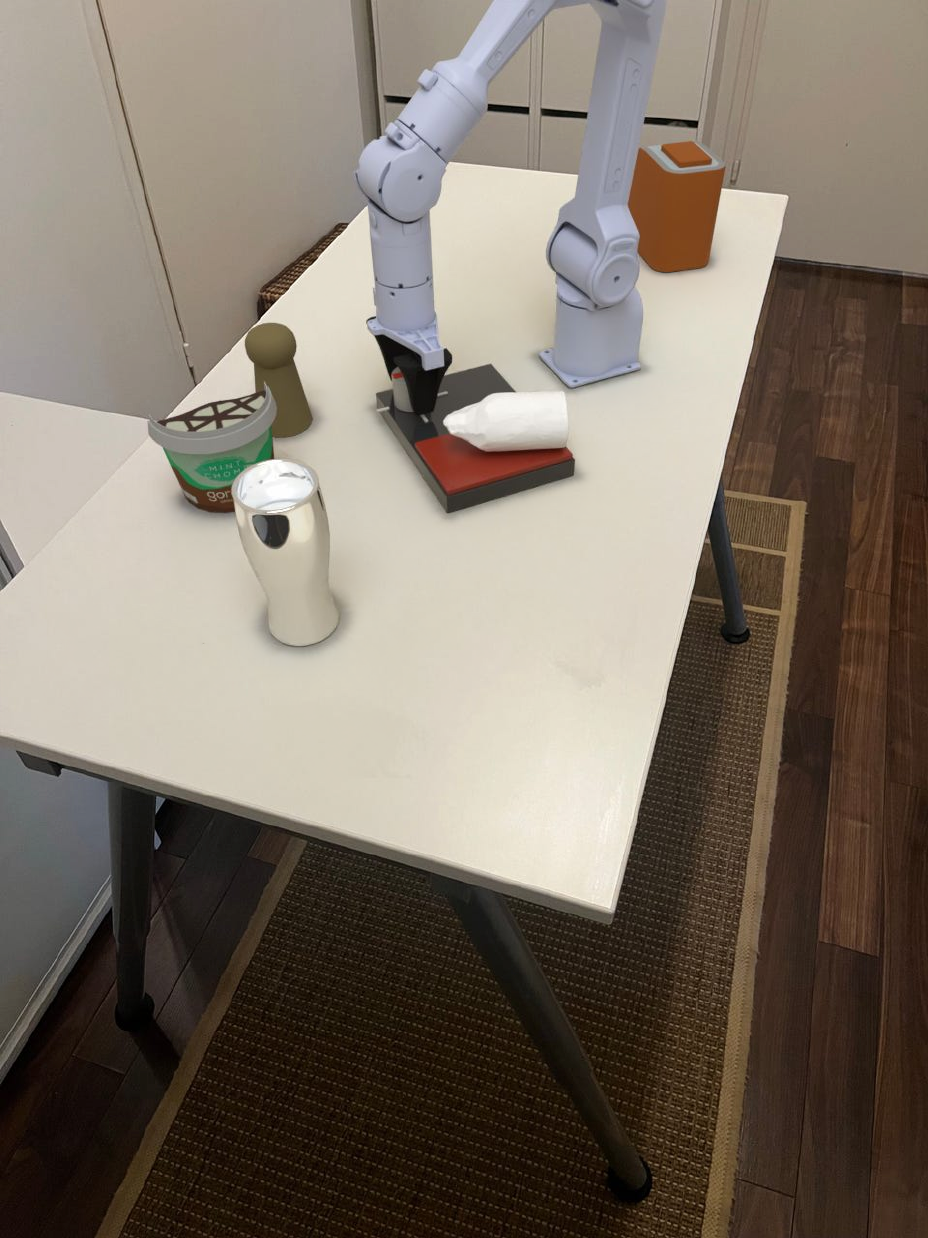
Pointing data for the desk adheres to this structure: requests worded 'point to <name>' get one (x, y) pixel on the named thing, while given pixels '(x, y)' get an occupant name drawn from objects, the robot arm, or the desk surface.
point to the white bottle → (513, 421)
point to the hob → (451, 397)
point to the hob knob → (400, 391)
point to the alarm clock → (676, 204)
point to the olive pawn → (279, 376)
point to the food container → (217, 446)
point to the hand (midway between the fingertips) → (412, 395)
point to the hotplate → (480, 462)
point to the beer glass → (288, 547)
